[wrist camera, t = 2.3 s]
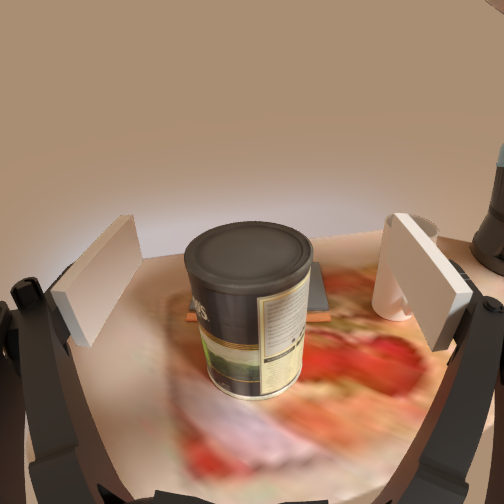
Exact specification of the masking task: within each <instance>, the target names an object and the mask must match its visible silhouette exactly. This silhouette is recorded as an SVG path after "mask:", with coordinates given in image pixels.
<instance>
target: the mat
mask: <svg viewBox="0 0 504 504" xmlns="http://www.w3.org/2000/svg"><path fill="white" fill-rule="evenodd" d="M189 309H190V310H195V306H194V302H193V298H192V301H191V304H190V307H189ZM318 310H329V306H328V301H327V297H326V292H325V288H324V283H323V279H322V274H321V270H320V266H319V262H312V264H311V269H310V281H309V294H308V305H307V311H318Z"/></svg>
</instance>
